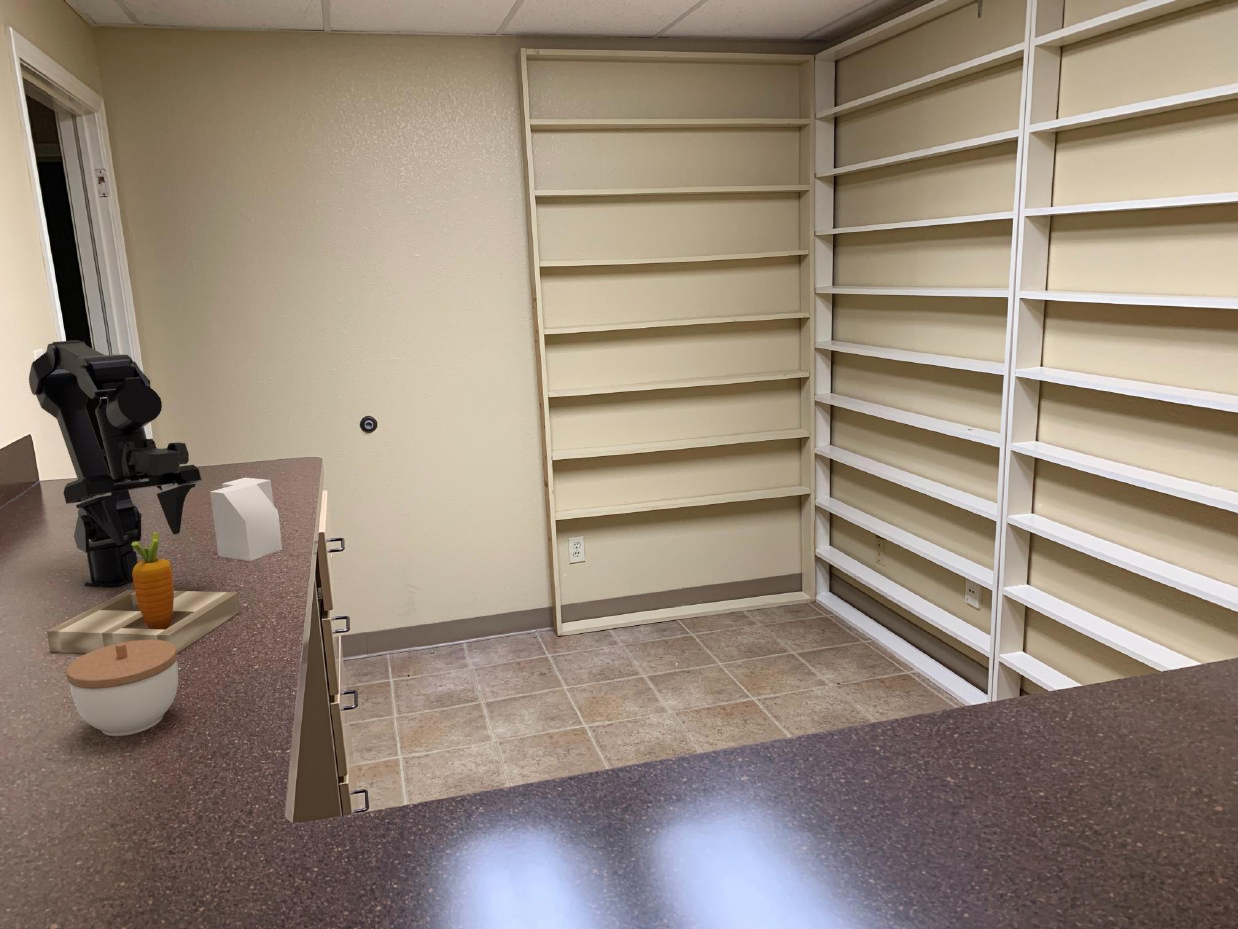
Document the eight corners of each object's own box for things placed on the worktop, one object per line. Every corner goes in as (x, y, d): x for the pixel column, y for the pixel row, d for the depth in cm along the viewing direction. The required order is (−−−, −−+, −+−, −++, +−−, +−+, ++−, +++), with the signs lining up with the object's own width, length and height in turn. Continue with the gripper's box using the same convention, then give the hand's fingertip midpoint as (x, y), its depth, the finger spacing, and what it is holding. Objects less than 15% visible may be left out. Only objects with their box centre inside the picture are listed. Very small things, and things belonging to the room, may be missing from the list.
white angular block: (252, 538, 171) (245, 477, 169) (296, 544, 166) (289, 481, 164) (205, 554, 162) (197, 490, 160) (250, 561, 157) (242, 495, 155)
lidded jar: (83, 713, 102) (70, 636, 101) (186, 693, 107) (176, 619, 105) (70, 757, 93) (56, 673, 91) (184, 733, 97) (172, 652, 95)
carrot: (147, 650, 120) (132, 542, 117) (136, 640, 123) (121, 535, 120) (186, 639, 123) (173, 534, 120) (174, 630, 126) (161, 528, 124)
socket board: (50, 652, 120) (46, 631, 119) (130, 608, 136) (128, 589, 135) (172, 656, 117) (168, 635, 117) (240, 611, 133) (237, 592, 132)
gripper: (97, 428, 121) (125, 539, 121) (212, 420, 138) (237, 518, 138) (49, 447, 126) (76, 554, 126) (166, 438, 143) (190, 532, 143)
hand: (149, 539), depth 133 cm, fingers open, 9 cm apart
